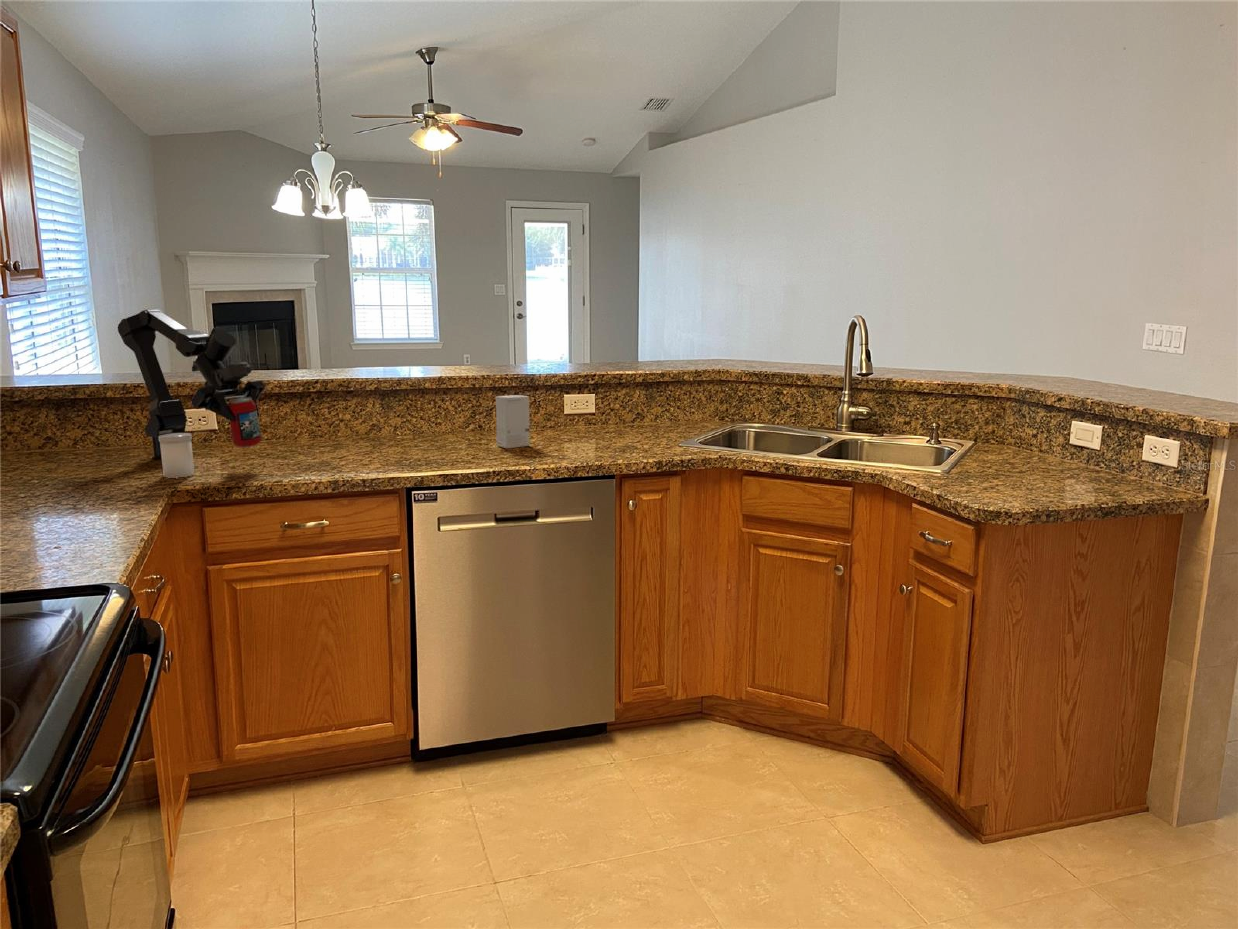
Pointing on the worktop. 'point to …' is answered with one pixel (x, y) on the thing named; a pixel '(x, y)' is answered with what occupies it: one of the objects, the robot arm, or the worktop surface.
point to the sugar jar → (176, 455)
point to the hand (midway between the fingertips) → (246, 418)
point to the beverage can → (244, 422)
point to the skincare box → (512, 421)
